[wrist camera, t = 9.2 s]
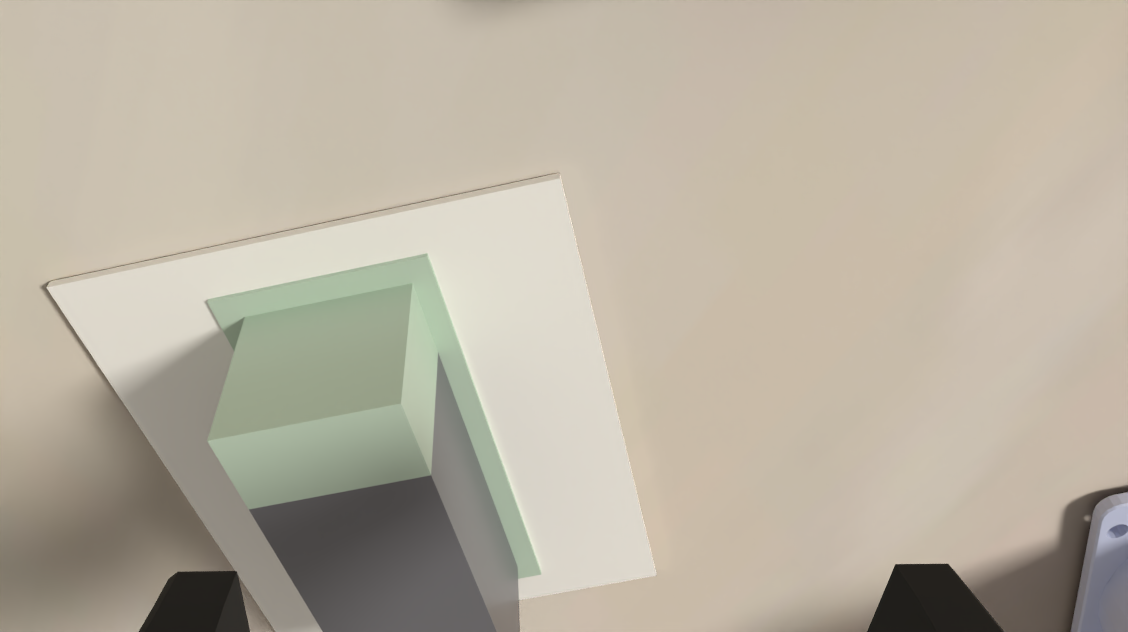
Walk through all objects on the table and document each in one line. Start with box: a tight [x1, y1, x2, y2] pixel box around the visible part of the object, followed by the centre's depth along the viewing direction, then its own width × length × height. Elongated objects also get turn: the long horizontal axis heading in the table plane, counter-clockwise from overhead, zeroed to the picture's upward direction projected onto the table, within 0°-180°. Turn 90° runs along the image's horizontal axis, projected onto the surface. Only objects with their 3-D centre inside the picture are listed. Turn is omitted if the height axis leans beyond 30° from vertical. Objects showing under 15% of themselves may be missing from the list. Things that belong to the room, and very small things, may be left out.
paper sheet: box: [46, 173, 657, 632], centre depth 22 cm, size 12×10×1 cm
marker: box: [207, 283, 520, 632], centre depth 21 cm, size 10×3×3 cm, turn 12°
